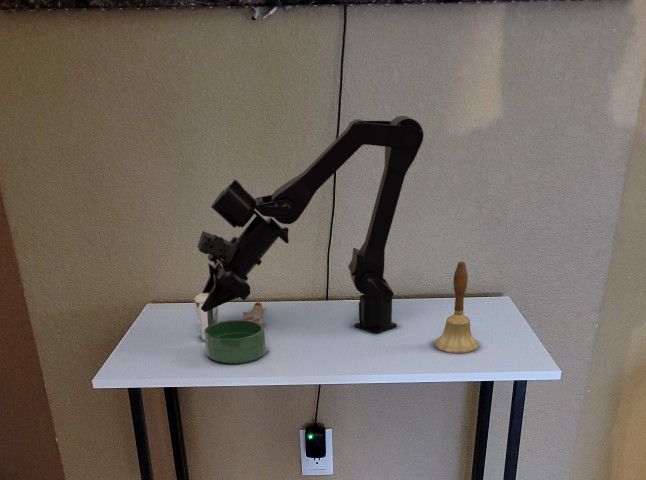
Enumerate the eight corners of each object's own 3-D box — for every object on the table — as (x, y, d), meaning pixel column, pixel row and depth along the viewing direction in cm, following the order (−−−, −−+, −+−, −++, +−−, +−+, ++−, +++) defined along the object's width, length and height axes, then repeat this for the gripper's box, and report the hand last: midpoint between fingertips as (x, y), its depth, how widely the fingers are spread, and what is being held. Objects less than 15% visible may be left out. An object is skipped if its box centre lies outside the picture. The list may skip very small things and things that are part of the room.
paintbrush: (236, 325, 149) (249, 299, 166) (237, 338, 150) (250, 311, 168) (255, 324, 149) (267, 299, 166) (256, 338, 150) (268, 311, 167)
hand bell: (474, 355, 141) (482, 269, 133) (431, 351, 143) (435, 266, 135) (480, 340, 148) (488, 257, 139) (438, 336, 150) (443, 255, 142)
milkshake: (229, 336, 153) (224, 286, 148) (212, 343, 149) (206, 293, 144) (212, 332, 155) (206, 284, 150) (194, 340, 151) (188, 290, 146)
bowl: (277, 354, 144) (276, 329, 141) (230, 370, 137) (227, 343, 134) (242, 340, 151) (240, 315, 148) (195, 354, 144) (192, 329, 142)
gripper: (213, 206, 148) (164, 268, 152) (227, 226, 133) (172, 293, 136) (255, 244, 154) (207, 303, 157) (273, 267, 138) (219, 331, 142)
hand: (201, 306), depth 148 cm, fingers closed on milkshake, 4 cm apart
